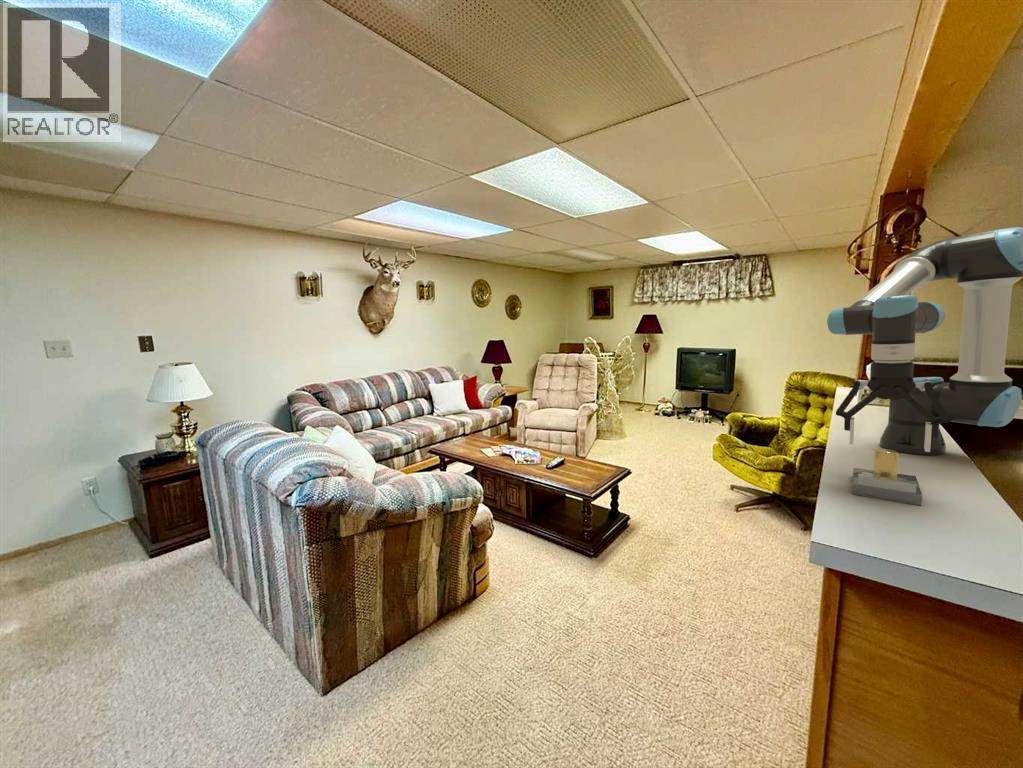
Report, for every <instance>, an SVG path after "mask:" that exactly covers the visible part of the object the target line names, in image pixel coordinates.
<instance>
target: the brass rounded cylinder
mask: <svg viewBox="0 0 1023 768" xmlns="http://www.w3.org/2000/svg"><path fill="white" fill-rule="evenodd" d="M873 450H874V451H873V465H872V466H873V468H872V470H873V476H880V477H887V478H894V479H897V474H899V473H898V471H899V453H900V452H898V451H894V450H889V449H886V448H876V449H875V448H874V449H873Z"/></svg>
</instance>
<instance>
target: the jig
mask: <svg viewBox="0 0 1023 768" xmlns="http://www.w3.org/2000/svg"><path fill="white" fill-rule="evenodd" d="M852 470H853V471H852V486H851V487H852V491H851V494H852V495H854V496H859V497H860V496H861V497H862V496H863V497H866V496H867V497H868V498H872V497H873V499H881V500H886V501H892V502H897V503H904V504H907V505H909V504H910V505H916V506H922V502H923V494H922V491H921V488H920V484H919V480H918V479H917V476H916V475H909V474H904V473H897V479H894V478H887V477H880V476H873V469H865V468H859V467H853V468H852ZM867 497H866V498H867Z"/></svg>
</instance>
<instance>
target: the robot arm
mask: <svg viewBox="0 0 1023 768" xmlns="http://www.w3.org/2000/svg"><path fill="white" fill-rule="evenodd" d="M949 279H950V280H951V279H957V280H956V281H957V282H956V285H957V286H959V287H960V288H963V291H964V292H963V304H962V316H961V317H962V318H961V328H960V329H961V330H960V340H959V341H960V342H959V344H960V345H959V352H958V353H959V354H958V369H957V372H956V373H955V374H953V375H952V376H950V377H949V382H944V381H945V380H944V378H943V377H941V376H926V377H925V376H922V377H914V369H915V363H914V362H913V360H914V359H915V352H916V350H915V349H916V334H926V333H928V332H931V331H934V330H936V329H938V328H939V327H941V325H942V324H943V323H944V321H945V319H946V311H945V310H944V308H943V307H942V306H941V305H939V304H938V303H935V302H930V301H918V297H917V295H915V294H912V293H913V292H914V291H915V290H917V289H918V288H921V287H923V286H926V285H928V284H929V283H930V282H934V281H940V280H949ZM1022 279H1023V227H1019V226H1018V227H1017V226H1016V227H1008V228H999V229H994V230H989V231H983V232H978V233H977V232H976V233H971V234H966V235H962V236H955V237H948V238H943V239H939V240H938V241H935V242H934V241H933V242H931V243H929V244H927V245H925V246H923V247H921V248H919V249H917V250H914V251H913V252H912V253H910V254H909V255H907V256H906V257H904V258H903V259H901V260H900V261H898V262H897V264H895V266H894V268H893V271H892V272H891V273H890V274H889V275H887V276H886V277H885V278H884V279H882V280H880V282H879V283H877V284H876V285H875V286H874V287H873V288H871V289H869V290H868V291H867V292H866V293H865V294H864V295H862V296H861V297H860V298H859V299H857V300H856V301H855V302H854V303H853V304H852V305H850V306H848V307H843V306H842V307H840V308H839V307H838V308H834V309H832V310H831V311H830V312H829V314H828V316H827V320H826V324H827V329H828V331H829V332H830V333H831V334H833V335H844V336H849V335H852V336H853V335H854V336H855V335H872V337H871V339H872V340H871V348H870V349H871V353H870V354H871V355H870V359H871V360H872V362H871V363H870V375H869V376H870V378H869V380H868V381H866V380H865V381H864V380H859V379H855V380H853V384H852V388H851V390H850V391H849V393H848V394H847V395H846V396H845V398H844V399H843V400H842V402H841V404H840V405H839V406H838V408H837V409H836V411H835V415H836V416H837V417H838V416H839V417H841V418H843V419H844V424H843V425H844V427H843V429H844V431H848V432H849V445H854V442H855V441H854V439H855V417H853V416H855V415H857V413H858V412H860V411H861V410H863V409H864V408H865V407H866V406H867V405H869V404H870V403H872V401H874V400H875V399H877V398H878V399H881V400H883V401H885V400H888V401H889V403H888V404H889V406H888V419H887V420H888V421H887V425H886V427H885V428H884V430H883V433H882V435H881V436H880V438H879V446H880V447H881V448H882V449H889V450H894V451H897V452H899V453H904V454H911V455H920V456H921V455H922V456H923V455H924V456H939V455H943V454H946V452H947V445H946V442H945V439H944V436H943V434H942V432H941V428H940V425H941V424H945V423H946V424H947V423H950V422H952V423H958V424H967V425H974V426H979V427H991V428H992V427H993V428H1000V427H1001V428H1002V427H1005V426H1007V425H1008V424H1009V423H1011V421H1013V420H1014V418H1015V416H1016V415H1017V413H1018V410H1019V409H1020V406H1021V404H1022V399H1023V393H1022V392H1023V391H1022V389H1021V388H1020V387H1018V386H1014V385H1013V378H1011V377H1009V376H1008V375H1007V374H1006V373H1005V366H1006V357H1007V355H1006V354H1007V346H1008V345H1007V343H1008V334H1009V326H1010V316H1011V315H1010V314H1011V301H1012V292H1013V286H1014V284H1015V283H1016V284H1017V282H1019V281H1021V280H1022ZM865 387H867V388H868V389H869V390H870V393H868V394H867V395H866V396H865V397H863V399H862V400H860V401H859V402H857V403H856V404H855V405H854V406H853V407H851V408H849V410H847V411H845V410H846V409H847V408H848V406H849V405H850V403H851V402H852V401H853V399H854V398H855V397H856V396H857V394H858V392H859V390H863V389H864V388H865Z"/></svg>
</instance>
